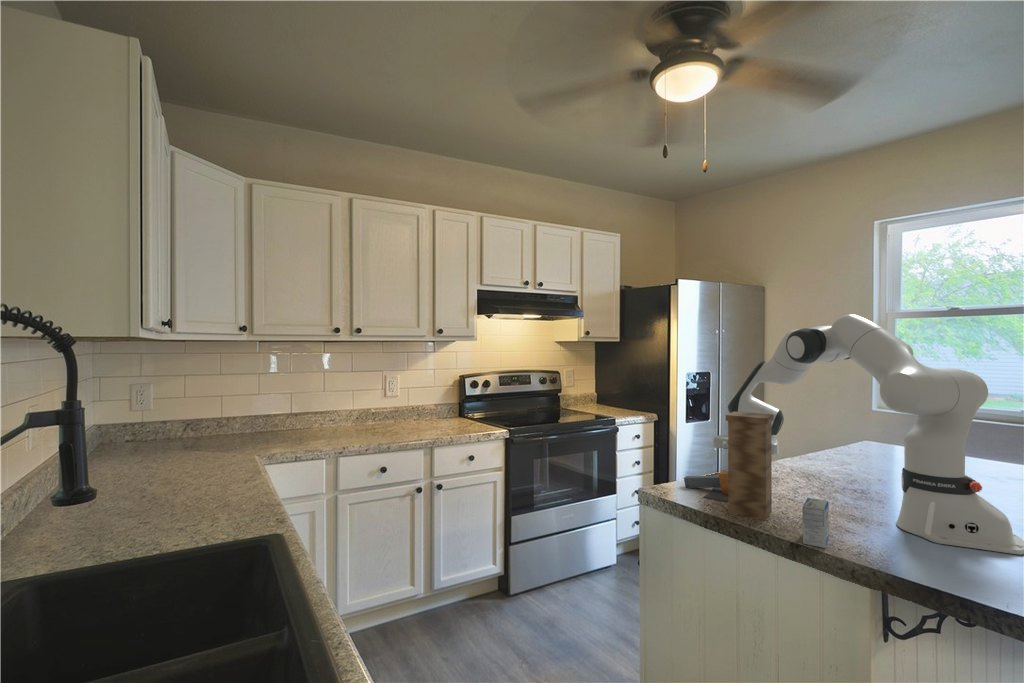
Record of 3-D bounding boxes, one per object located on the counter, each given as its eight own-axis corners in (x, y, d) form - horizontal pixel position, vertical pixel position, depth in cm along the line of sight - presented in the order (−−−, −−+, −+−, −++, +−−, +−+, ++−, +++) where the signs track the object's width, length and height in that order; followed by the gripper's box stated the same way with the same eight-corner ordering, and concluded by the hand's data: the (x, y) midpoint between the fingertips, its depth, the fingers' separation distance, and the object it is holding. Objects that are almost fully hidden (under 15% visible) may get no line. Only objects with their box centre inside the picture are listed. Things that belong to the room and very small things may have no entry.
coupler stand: (774, 511, 131) (773, 414, 131) (767, 521, 124) (767, 418, 124) (733, 504, 137) (733, 411, 137) (725, 513, 130) (725, 415, 130)
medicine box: (825, 549, 107) (825, 509, 107) (802, 544, 110) (802, 505, 110) (829, 538, 113) (829, 500, 113) (806, 533, 116) (806, 496, 116)
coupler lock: (685, 471, 156) (681, 474, 152) (743, 469, 146) (740, 473, 142) (688, 490, 155) (684, 494, 151) (746, 490, 146) (744, 494, 142)
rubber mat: (749, 490, 150) (749, 489, 150) (736, 503, 137) (736, 502, 137) (718, 485, 156) (718, 484, 156) (703, 497, 143) (703, 496, 143)
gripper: (718, 429, 178) (707, 435, 167) (781, 436, 166) (774, 442, 155) (718, 446, 178) (707, 453, 167) (781, 454, 166) (774, 462, 155)
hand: (740, 448), depth 161 cm, fingers open, 8 cm apart
